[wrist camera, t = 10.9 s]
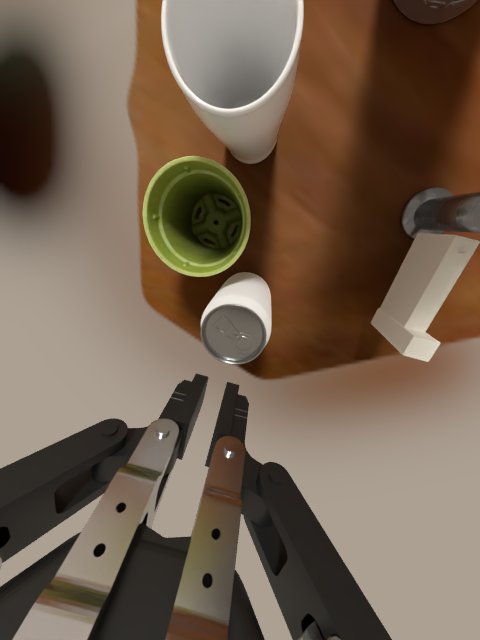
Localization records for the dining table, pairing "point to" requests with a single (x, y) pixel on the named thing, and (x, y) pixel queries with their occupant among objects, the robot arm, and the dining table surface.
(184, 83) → the white tapered cup
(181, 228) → the plant pot
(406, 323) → the gate
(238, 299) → the can
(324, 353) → the dining table surface
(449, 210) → the hinge post
